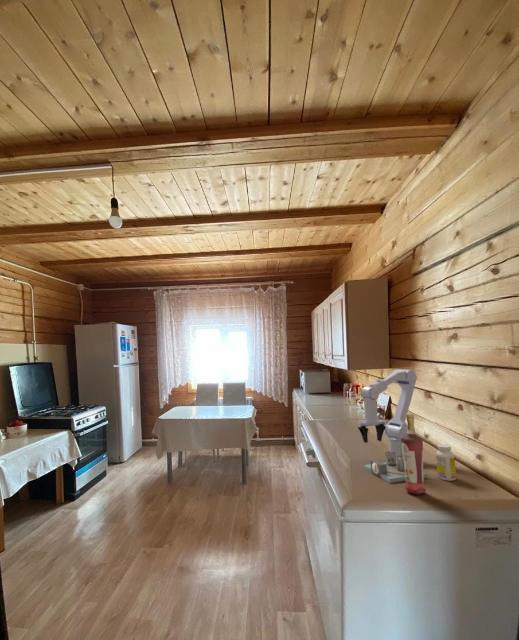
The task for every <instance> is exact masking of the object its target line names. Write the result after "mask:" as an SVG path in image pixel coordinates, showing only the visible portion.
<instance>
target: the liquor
mask: <svg viewBox="0 0 519 640" xmlns="http://www.w3.org/2000/svg"><path fill="white" fill-rule="evenodd" d="M406 422H407V423H406V424H407V436H404V437H403V438H402V439H401V441H402V451H403V459H404V467H405V477H406V481H405V487H404V488H405V490H407V493H410V494H411V495H415V496H420V495H422V494H424V493H425V492H426V491H427V490H426V488H425V483H424V482H425V478H423V472H424V448H423V446H424V445H423V439H421V437H419V436H417V435H416V434H417V433H416V428H415V427H416V426H415V415H414V414H413V413H412V414H411V413H407V414H406Z"/></svg>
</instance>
